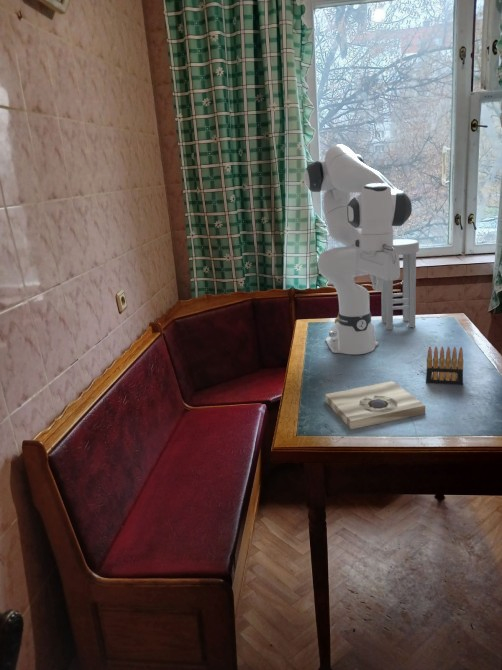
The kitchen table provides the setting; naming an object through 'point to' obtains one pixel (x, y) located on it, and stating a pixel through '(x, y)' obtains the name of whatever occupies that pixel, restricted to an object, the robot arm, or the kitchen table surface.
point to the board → (358, 401)
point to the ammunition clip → (445, 367)
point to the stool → (409, 285)
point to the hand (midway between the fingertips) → (377, 290)
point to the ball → (378, 404)
